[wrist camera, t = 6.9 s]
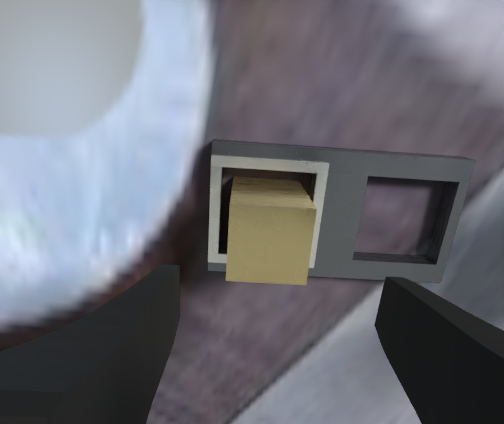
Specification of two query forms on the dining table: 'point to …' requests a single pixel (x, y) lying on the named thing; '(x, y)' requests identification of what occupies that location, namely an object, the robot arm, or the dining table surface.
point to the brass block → (269, 231)
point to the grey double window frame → (347, 204)
